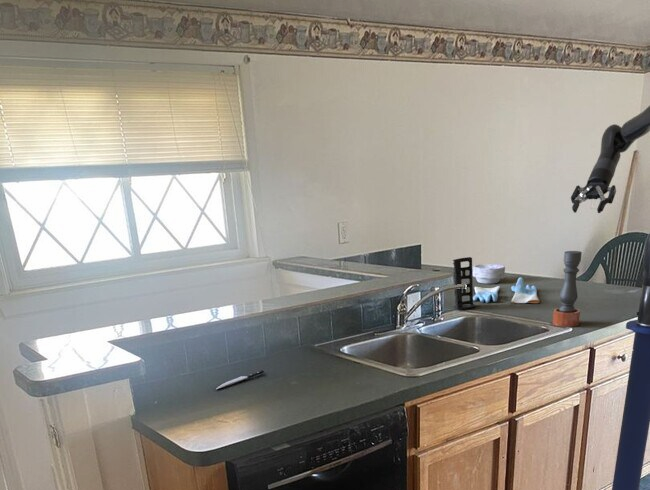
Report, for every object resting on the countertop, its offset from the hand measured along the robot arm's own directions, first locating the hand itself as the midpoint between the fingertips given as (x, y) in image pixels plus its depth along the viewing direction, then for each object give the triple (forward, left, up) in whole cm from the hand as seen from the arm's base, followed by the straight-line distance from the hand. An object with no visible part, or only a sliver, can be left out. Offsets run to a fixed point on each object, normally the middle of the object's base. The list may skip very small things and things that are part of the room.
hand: (586, 211), depth 230 cm
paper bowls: (+80, -15, -39) cm, 90 cm away
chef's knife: (-11, +133, -39) cm, 139 cm away
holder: (+39, +25, -39) cm, 60 cm away
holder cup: (-4, +8, -39) cm, 40 cm away
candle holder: (-4, +7, -38) cm, 39 cm away
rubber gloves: (+49, -3, -39) cm, 62 cm away
